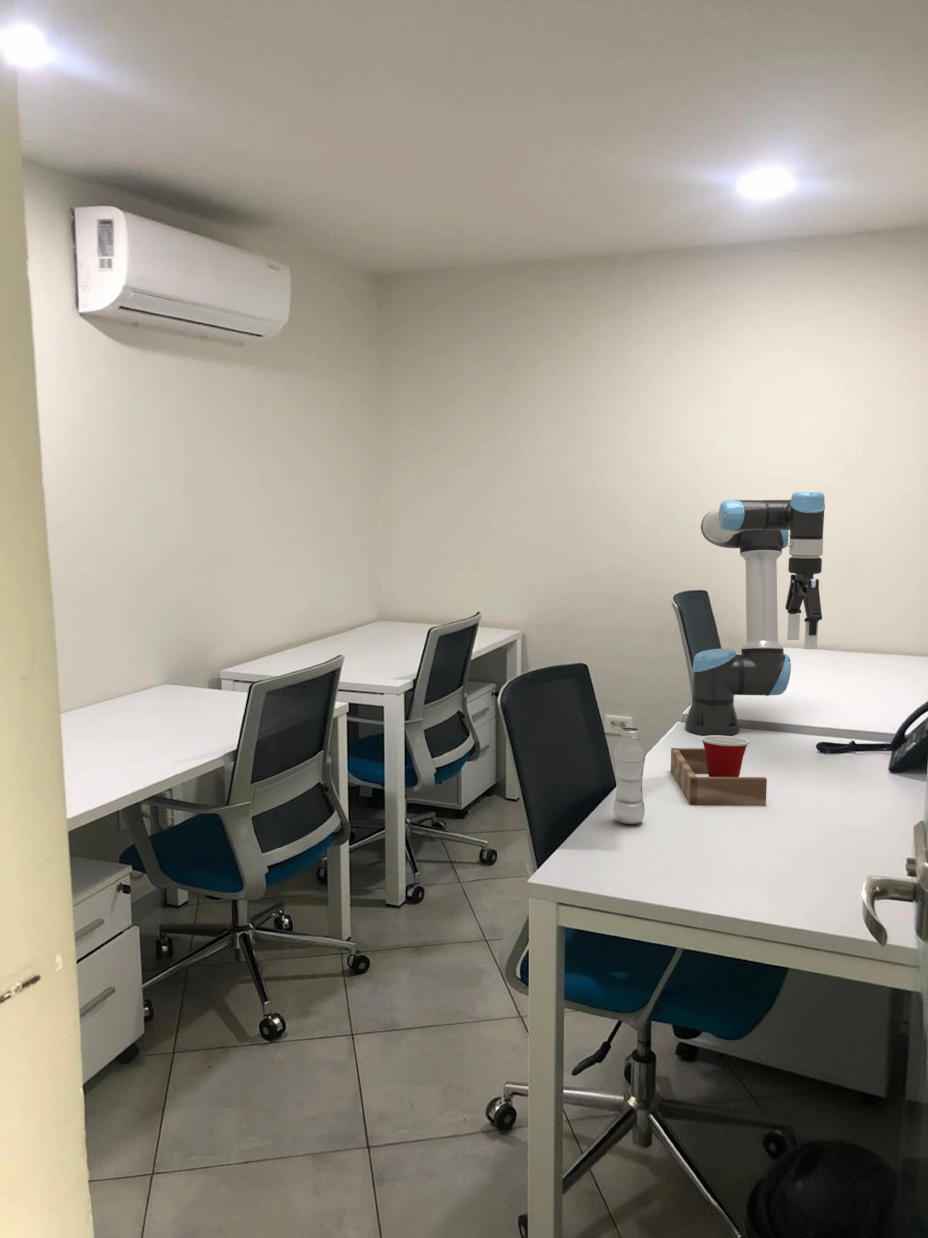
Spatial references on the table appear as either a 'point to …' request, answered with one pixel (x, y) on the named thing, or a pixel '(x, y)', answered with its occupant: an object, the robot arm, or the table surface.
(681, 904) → the table surface
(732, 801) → the box
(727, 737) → the plastic cup
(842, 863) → the table surface
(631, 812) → the plastic bottle
